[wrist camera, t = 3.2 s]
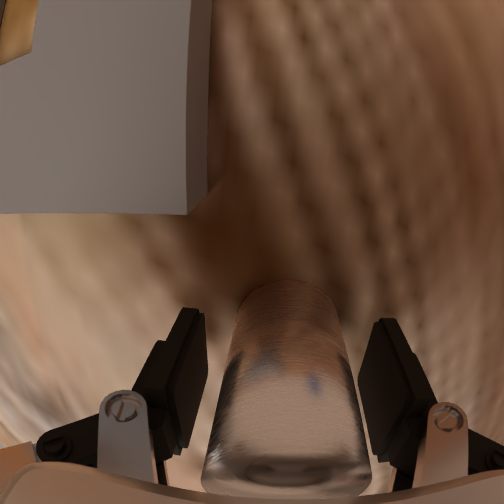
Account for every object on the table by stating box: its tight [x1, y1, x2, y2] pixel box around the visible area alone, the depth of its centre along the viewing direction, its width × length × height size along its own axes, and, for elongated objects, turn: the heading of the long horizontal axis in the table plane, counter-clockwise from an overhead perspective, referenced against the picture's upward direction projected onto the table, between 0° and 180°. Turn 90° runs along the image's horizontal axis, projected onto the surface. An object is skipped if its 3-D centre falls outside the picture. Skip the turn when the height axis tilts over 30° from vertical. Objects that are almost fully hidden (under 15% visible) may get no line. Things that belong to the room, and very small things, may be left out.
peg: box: [201, 280, 372, 499], centre depth 9 cm, size 4×4×7 cm
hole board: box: [0, 0, 213, 215], centre depth 7 cm, size 16×16×3 cm
